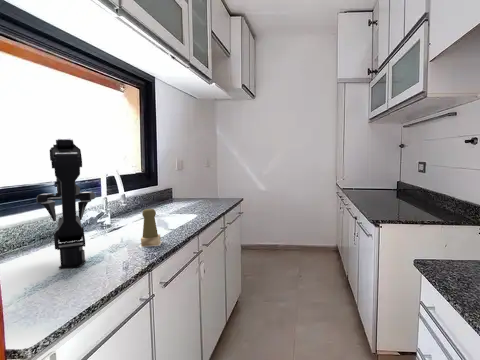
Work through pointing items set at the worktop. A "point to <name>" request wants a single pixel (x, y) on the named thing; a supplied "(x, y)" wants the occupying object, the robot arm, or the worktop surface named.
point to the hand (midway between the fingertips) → (67, 220)
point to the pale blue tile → (154, 245)
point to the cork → (149, 223)
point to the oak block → (150, 241)
